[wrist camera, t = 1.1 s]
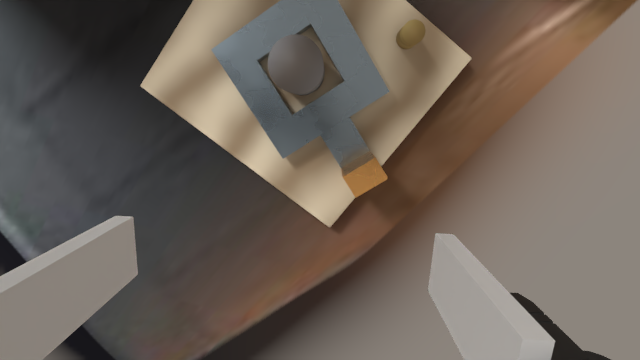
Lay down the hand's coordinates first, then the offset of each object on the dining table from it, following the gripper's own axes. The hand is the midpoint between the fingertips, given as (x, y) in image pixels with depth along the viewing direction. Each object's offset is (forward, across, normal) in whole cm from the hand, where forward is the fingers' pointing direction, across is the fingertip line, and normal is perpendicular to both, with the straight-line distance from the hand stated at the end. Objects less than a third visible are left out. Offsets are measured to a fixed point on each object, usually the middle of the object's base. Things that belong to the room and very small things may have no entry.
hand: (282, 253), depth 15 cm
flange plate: (+17, +1, +7) cm, 19 cm away
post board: (+19, -1, +9) cm, 21 cm away
